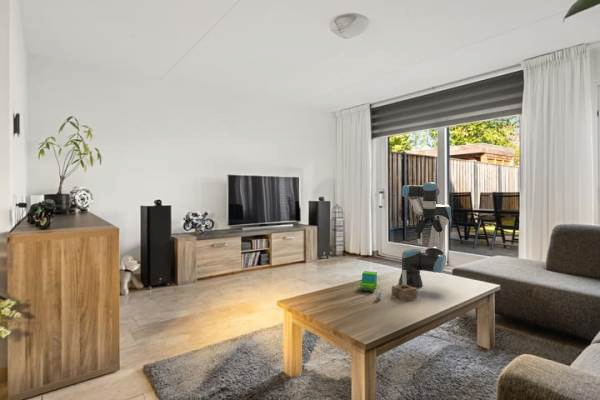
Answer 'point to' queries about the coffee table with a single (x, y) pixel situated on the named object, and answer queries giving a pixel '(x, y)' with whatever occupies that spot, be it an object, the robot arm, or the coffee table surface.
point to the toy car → (368, 281)
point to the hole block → (404, 292)
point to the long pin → (404, 279)
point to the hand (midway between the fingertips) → (428, 243)
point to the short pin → (378, 295)
